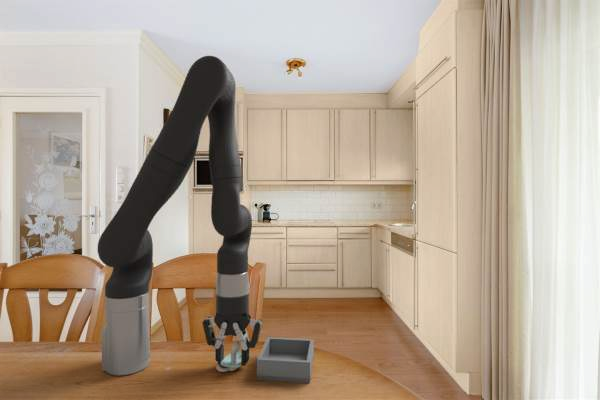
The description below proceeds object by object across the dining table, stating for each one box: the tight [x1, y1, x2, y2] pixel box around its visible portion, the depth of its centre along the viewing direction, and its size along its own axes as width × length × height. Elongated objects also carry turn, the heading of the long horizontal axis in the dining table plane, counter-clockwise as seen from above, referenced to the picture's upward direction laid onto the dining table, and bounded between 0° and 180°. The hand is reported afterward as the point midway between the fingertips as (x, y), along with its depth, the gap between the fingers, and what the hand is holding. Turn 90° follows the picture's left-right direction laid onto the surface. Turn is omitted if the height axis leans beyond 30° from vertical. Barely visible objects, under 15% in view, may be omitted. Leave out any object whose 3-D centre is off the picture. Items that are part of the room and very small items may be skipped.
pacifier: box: [215, 340, 241, 373], centre depth 83 cm, size 7×6×6 cm
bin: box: [256, 336, 315, 384], centre depth 83 cm, size 12×12×4 cm
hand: (232, 363), depth 83 cm, fingers closed on pacifier, 5 cm apart
